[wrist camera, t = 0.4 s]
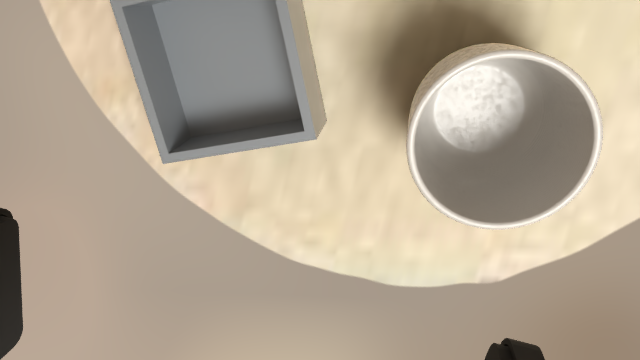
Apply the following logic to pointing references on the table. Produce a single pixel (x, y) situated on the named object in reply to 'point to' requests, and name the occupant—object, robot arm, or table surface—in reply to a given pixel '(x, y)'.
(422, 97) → the planter
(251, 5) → the bin
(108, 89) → the table surface
